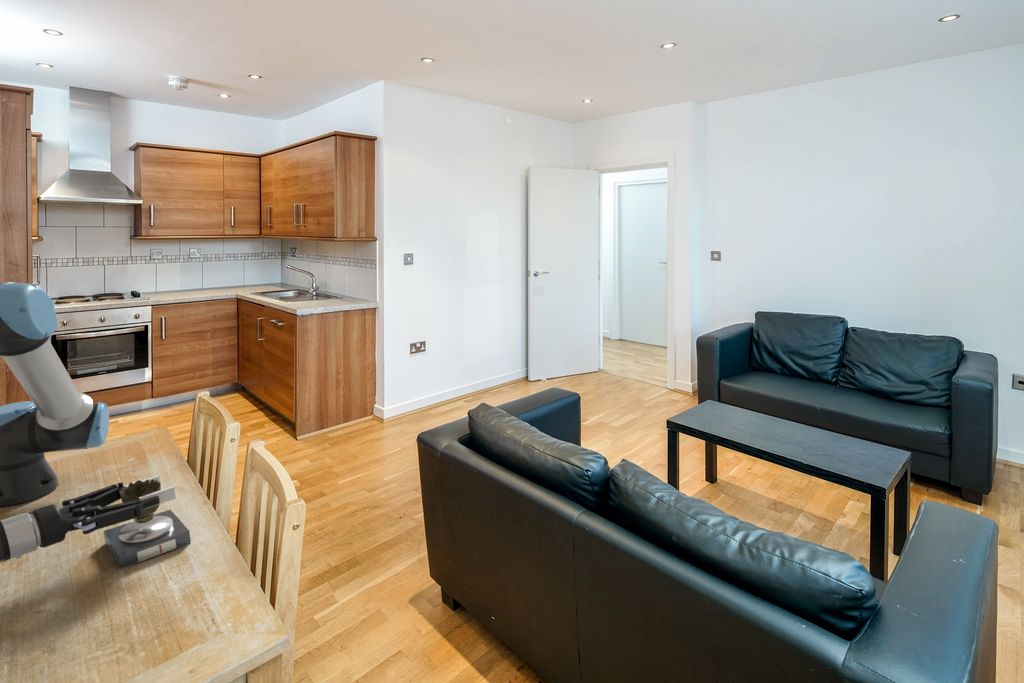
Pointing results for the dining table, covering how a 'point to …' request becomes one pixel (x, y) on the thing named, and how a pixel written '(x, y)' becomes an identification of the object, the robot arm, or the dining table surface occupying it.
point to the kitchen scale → (146, 538)
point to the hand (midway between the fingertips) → (166, 486)
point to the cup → (138, 491)
